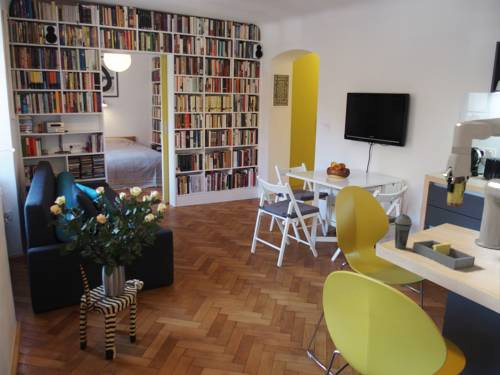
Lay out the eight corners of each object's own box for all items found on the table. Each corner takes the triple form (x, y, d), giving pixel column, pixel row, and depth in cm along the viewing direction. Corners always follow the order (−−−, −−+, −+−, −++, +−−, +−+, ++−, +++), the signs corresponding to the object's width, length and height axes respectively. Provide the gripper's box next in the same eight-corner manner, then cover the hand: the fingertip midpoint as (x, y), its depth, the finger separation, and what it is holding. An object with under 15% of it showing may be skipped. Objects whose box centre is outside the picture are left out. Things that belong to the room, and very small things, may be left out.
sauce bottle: (463, 208, 178) (469, 163, 174) (448, 207, 179) (453, 162, 175) (459, 204, 184) (464, 161, 180) (444, 203, 186) (449, 160, 181)
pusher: (439, 250, 180) (441, 240, 179) (449, 254, 175) (450, 243, 174) (425, 252, 177) (426, 241, 176) (434, 256, 172) (436, 245, 171)
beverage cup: (389, 244, 189) (394, 202, 185) (405, 245, 189) (410, 203, 185) (394, 250, 182) (399, 206, 178) (411, 250, 182) (416, 207, 178)
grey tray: (431, 248, 186) (432, 239, 185) (473, 266, 166) (475, 257, 165) (412, 250, 182) (413, 242, 181) (453, 269, 162) (455, 260, 161)
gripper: (467, 149, 183) (462, 188, 187) (439, 150, 177) (434, 191, 181) (482, 151, 177) (477, 192, 180) (453, 152, 170) (448, 194, 174)
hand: (455, 191), depth 180 cm, fingers closed on sauce bottle, 6 cm apart
